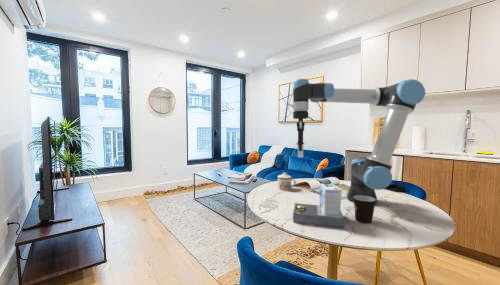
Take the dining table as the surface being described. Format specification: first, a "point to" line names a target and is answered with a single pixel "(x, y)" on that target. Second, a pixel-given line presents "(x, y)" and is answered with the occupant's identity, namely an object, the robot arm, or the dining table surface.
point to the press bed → (316, 217)
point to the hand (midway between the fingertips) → (300, 157)
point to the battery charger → (395, 187)
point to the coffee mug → (364, 208)
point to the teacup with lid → (285, 182)
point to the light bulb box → (330, 199)
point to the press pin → (300, 207)
